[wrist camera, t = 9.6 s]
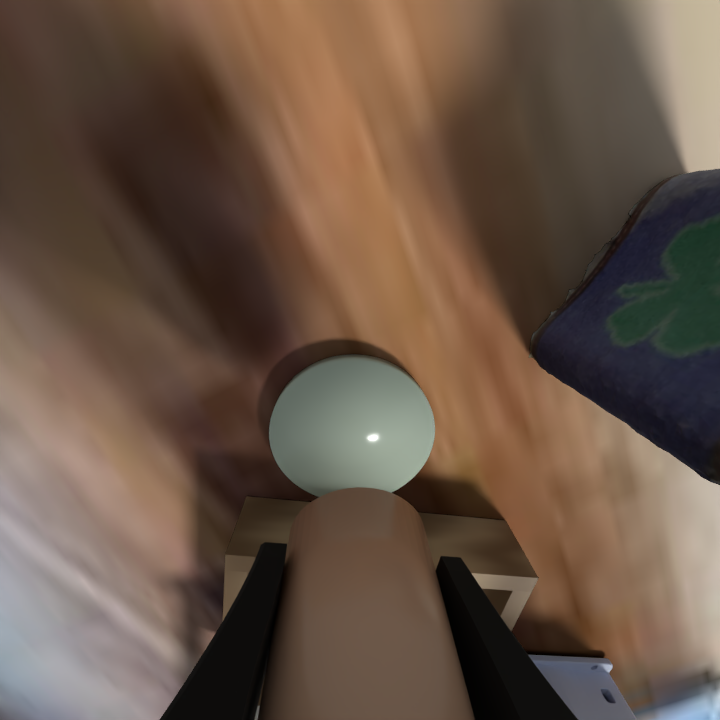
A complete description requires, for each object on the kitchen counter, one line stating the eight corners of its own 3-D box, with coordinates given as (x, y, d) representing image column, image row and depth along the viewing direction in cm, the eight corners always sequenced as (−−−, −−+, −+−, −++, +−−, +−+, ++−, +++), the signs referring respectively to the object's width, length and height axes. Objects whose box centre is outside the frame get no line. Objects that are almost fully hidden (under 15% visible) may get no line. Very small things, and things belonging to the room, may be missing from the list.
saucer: (448, 366, 16) (454, 373, 15) (411, 497, 19) (414, 508, 18) (279, 342, 15) (276, 348, 14) (266, 483, 18) (263, 494, 17)
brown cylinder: (437, 492, 10) (535, 771, 5) (410, 587, 12) (462, 871, 7) (292, 482, 10) (236, 776, 5) (285, 581, 11) (238, 880, 6)
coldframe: (505, 520, 20) (538, 578, 16) (448, 655, 24) (464, 722, 21) (246, 496, 18) (225, 554, 15) (236, 645, 22) (218, 716, 19)
